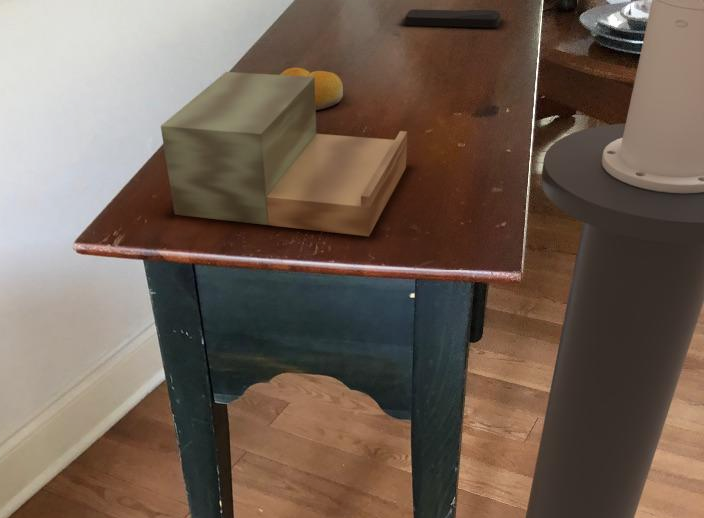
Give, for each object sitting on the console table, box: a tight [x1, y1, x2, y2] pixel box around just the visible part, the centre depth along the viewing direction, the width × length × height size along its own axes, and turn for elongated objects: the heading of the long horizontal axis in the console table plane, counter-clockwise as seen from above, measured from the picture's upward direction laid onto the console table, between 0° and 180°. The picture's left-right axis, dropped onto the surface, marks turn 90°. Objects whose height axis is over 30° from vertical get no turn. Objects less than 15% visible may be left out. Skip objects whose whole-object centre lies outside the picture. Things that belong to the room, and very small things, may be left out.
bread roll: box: [280, 66, 344, 111], centre depth 102 cm, size 8×9×4 cm
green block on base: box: [160, 71, 408, 237], centre depth 80 cm, size 20×16×9 cm
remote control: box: [403, 9, 501, 29], centre depth 128 cm, size 5×2×15 cm
